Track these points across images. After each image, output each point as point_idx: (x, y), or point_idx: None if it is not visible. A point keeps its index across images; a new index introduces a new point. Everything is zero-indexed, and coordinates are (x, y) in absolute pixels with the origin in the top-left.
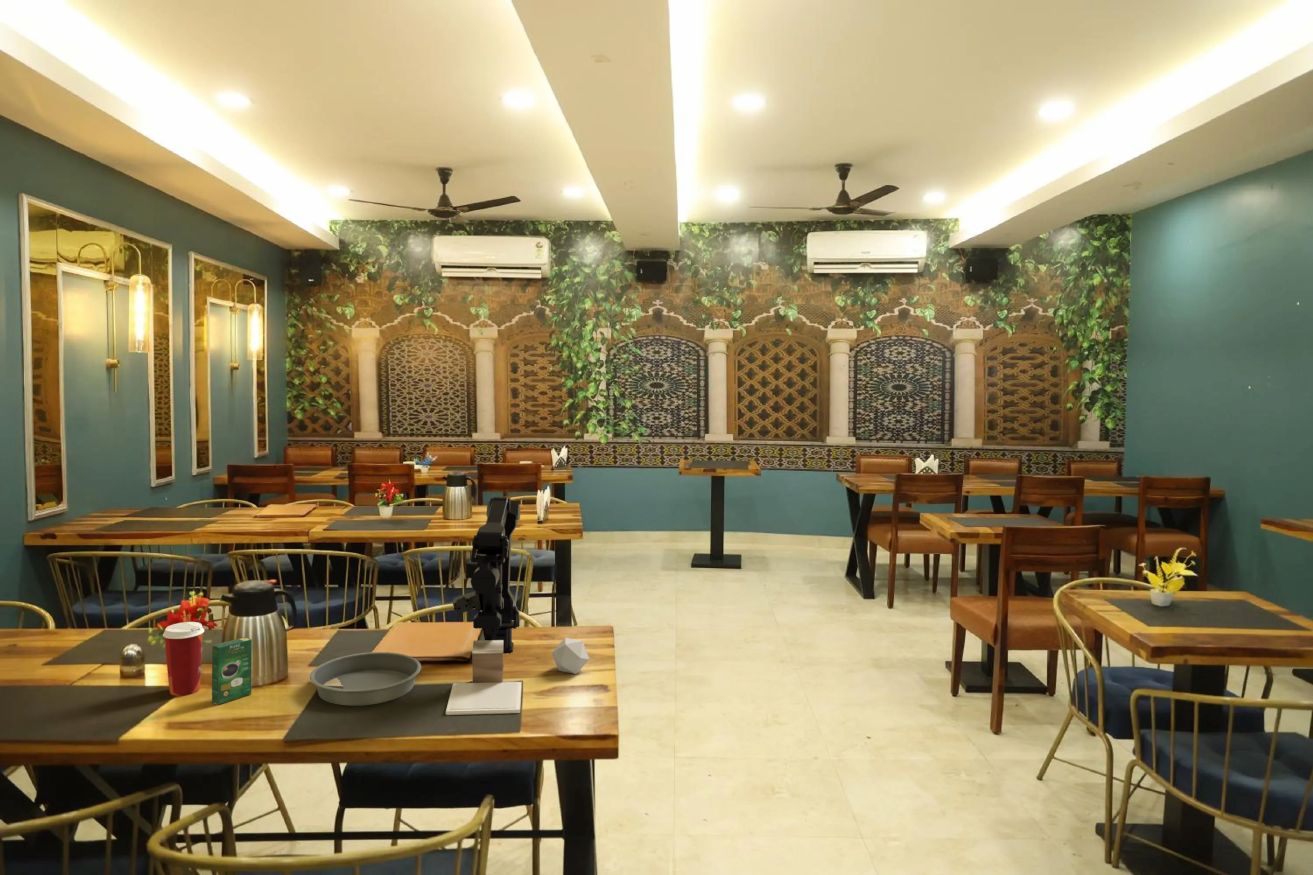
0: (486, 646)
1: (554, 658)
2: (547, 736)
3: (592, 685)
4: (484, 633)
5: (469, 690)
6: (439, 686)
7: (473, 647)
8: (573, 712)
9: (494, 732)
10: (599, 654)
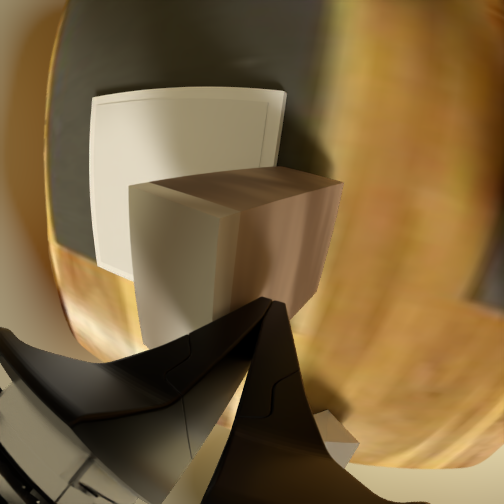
0: (157, 288)
1: (323, 430)
2: (55, 276)
3: (225, 416)
4: (174, 345)
5: (198, 150)
6: (298, 47)
7: (148, 198)
8: (117, 342)
9: (51, 202)
10: (375, 462)
